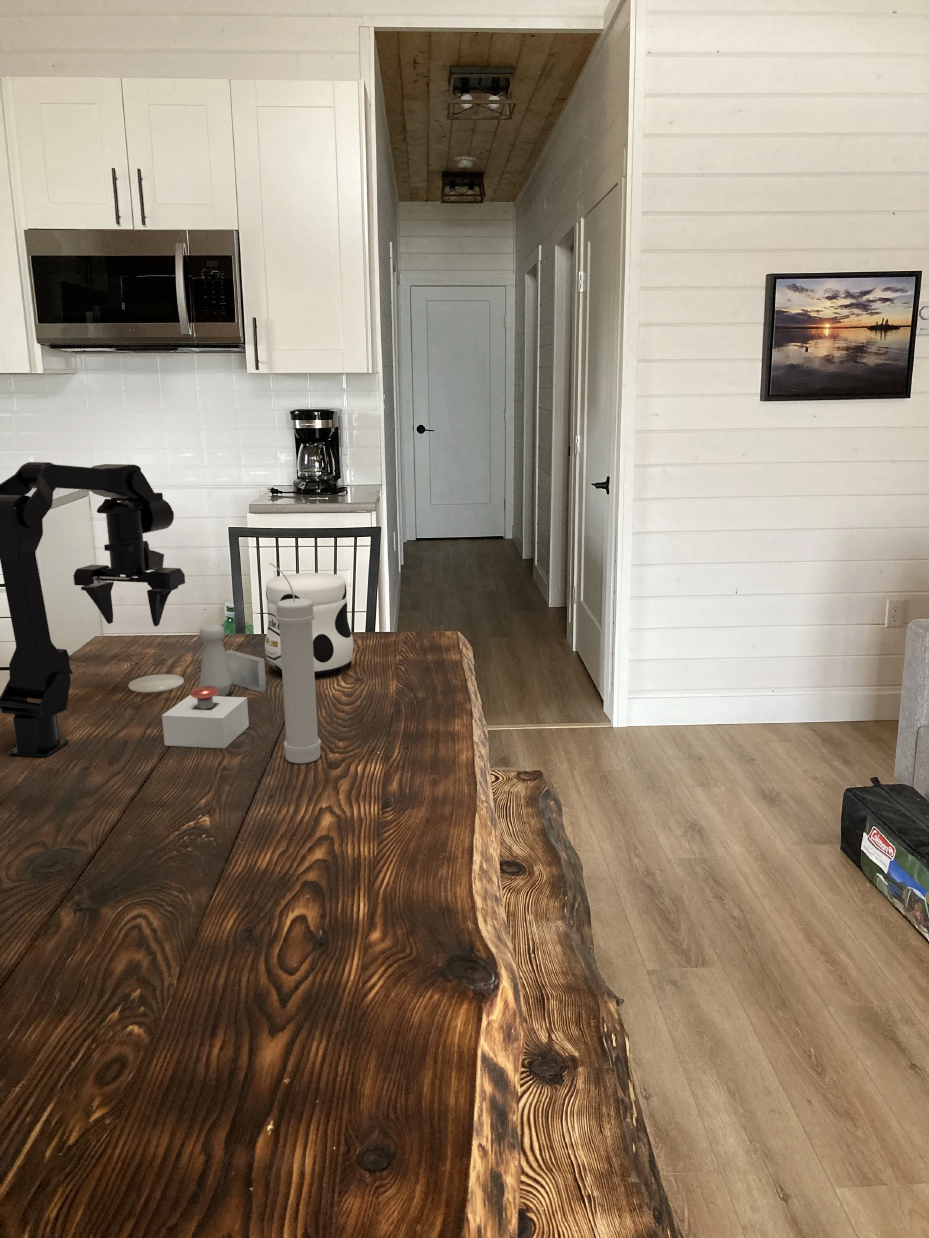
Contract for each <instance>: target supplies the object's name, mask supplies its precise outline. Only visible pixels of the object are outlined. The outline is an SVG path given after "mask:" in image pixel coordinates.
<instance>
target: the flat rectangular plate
mask: <svg viewBox="0 0 929 1238" xmlns="http://www.w3.org/2000/svg"><path fill="white" fill-rule="evenodd" d="M225 654H226V658H227V661H228V665H229V669H230V672H231V676H232V680H233V681H232V685H234V686H235V685H236V686H238V687H242V688H245V689H249V690H253V691H256V692H264V691H266V690H267V683H266V681H267V680H266V667H265V659H264V658H261V657H258V656H254V655H250V654H246V653H243V652H239V651H234V650H231V649H229V650H226V651H225Z"/></svg>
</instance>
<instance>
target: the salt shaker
mask: <svg viewBox="0 0 929 1238" xmlns="http://www.w3.org/2000/svg"><path fill="white" fill-rule="evenodd" d="M224 637H225V628H224V627H223V626H222V625H220V624H207V625H204V626H202V627H201V628H200V629H199V638H200V640H202V641H203V650H202V657H201V658H202V659H201V669H200V677H199V687H200V686H214V687H216V688H217V695H215V696H223V697H227V696H228V695H229V693H230V691H231V688H232V685H233V684H232V681H233V680H232V676H231V672H230V669H229V665H228V661H227V658H226V654H225V647H224V643H223V640H222V639H223V638H224Z"/></svg>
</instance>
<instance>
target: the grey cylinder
mask: <svg viewBox="0 0 929 1238" xmlns="http://www.w3.org/2000/svg"><path fill="white" fill-rule="evenodd" d="M269 565H271V566H273V567H274V568H275V569H277V571H279V572H280V573H281V575H282V576H284V577H285V578H286V576H285V575H286V574H284V572H283V571H282V570H281V569H280V568H279V567H278V566H276V565H275V564H273V563H272V562H269ZM286 580H287V582H288V584H289V586H290V588H291V591H292V595H293V599H287V600H282V601H280V602H278V603H277V604H276V610H277V616H276V620H277V622H279V628H280V645H281V661H282V674H281V675H282V676H281V677H282V690H283V692H282V694H283V708H284V724H285V740H284V742H283V747H284V752H285V753H284V755H285V756H284V757H285V760H287V762H290V763H294V764H308V763H313V762H315V761H317V760H318V759H320V756H321V744H322V740H321V738H319V735H318V734H319V733H318V716H317V715H318V714H317V696H316V695H317V694H316V677H315V673H314V654H313V634H312V620H313V619H314V614H313V603H312V601H311V600H307V599H295V598H294V593H293V590H292V587H291V585H290V583H289V581H288V579H287V578H286Z"/></svg>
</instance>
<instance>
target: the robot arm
mask: <svg viewBox="0 0 929 1238" xmlns="http://www.w3.org/2000/svg"><path fill="white" fill-rule="evenodd" d="M33 489H35V490H34V491H33V493H32V494H31V496H30V495H27V494H29V493H30V492H31V491H32V490H33ZM56 489H65V490H66V489H67V490H86V491H88V492H91V493H92V494H94V495H96V496H101V497H103V498H104V501H103V502H102V503H101V504H100V505H99V506H98V508H97V510H96V512H97V514H105V518H106V529H107V537H108V538H107V540H108V543H106V544H104V546H103V548H104V551H105V552H109V561H110V562H109V563H110V566H109V565H107V564H90V565H86V566H83V567H79V568H76V569H75V571H74V573H73V585H74V586H81V587H80V590H81V591H85V592H86V594H87V595H88V596H89V598H90V599H91V600H92V601H93V603H94V604H95V605H96V607H97V609H98V610H99V612H100V614H101V615H102V616H103V619H104V620H105V622H106V623H107V624H108V625H110V624H113V623H114V610H113V598H112V590H113V587H114V584H115V582H122V583H123V582H125V583H145V584H146V583H147V585H148V587H150V589H148V590H146V593H147V599H148V604H149V605H148V606H149V611H150V617H151V621H152V625H153V626H154V627H158V626H160V623H161V620H162V616H163V614H164V613H163V612H164V609H165V606H166V603H167V600H168V598H169V596H170V594H171V593H172V592H173V591H174V590H177V589H179V586H181V585H184V584H186V578H185V577H186V576H185V573H184V571H183V570H182V568H180V567H163V566H164V560H165V559H164V558H165V554H164V553H162V552H159V551H156V550H153V549H150V544H149V542H148V540H144V535H143V534H146V533H147V534H148V533H153V532H158V531H162V530H167V529H168V528H170V527H171V525H173V522H174V518H175V513H174V510H173V508H172V506H171V505H170V503H169V502H168V501H167V500H165V499H164V496H163V495H164V494H163V492H155V491H154V490H153V488H152V486H151V484H150V482H149V481H148V479H147V477H146V476H145V474H144V473H143V472H142V468H141V467H140V466H139V465H137V464H125V463H124V464H120V463H117V464H116V463H114V464H113V463H110V464H109V463H105V464H104V463H103V464H97V465H93V466H91V467H87V466H77V465H67V464H66V465H64V464H54V463H52V462H50V461H49V462H48V461H47V462H46V461H45V462H44V461H29V462H26V463H23V464H22V465H21V466H20V467H19V468H18V469H17V471H16V472H15V473H14V474H13V475H12V476H10V477H8V478H7V479H5V480H4V481H3V482H1V483H0V568H1V572H2V577H3V578H2V579H3V584H4V589H5V593H6V594H5V595H6V599H7V604H8V610H9V615H10V620H11V625H12V631H13V637H14V641H15V650H14V652H13V654H12V656H11V658H10V661H9V662H8V663H9V665H8V668H9V671H8V672H9V679H8V681H7V683H6V685H5V687H4V689H3V691H2V693H1V695H0V712H1V714H3V715H4V714H7V715H8V714H11V715H14V716H13V717H12V720H13V728H14V729H13V730H14V736H15V742H16V743H15V744H16V746H15V747H13V748H12V749H10V750H8V753H7V754H8V755H9V756H24V757H26V756H27V757H39V758H40V757H41V758H42V757H43V758H45V757H48V756H50V755H51V754H53V753H54V752H56V751H57V750H59V749H60V748H62V747H63V746H65V745H67V744H68V743H69V739H68V738H60V730H59V729H60V728H59V720H58V714H59V713H62V712H64V711H66V710H67V707H68V701H69V693H70V686H71V675H72V674H73V673H74V672H73V670H72V669H71V666H70V656H69V652H68V651H67V649H66V648H64V649H63V648H57V647H56V646H55V645H54V643H53V642H52V639H51V634H50V628H49V622H48V617H47V610H46V604H45V600H44V593H43V589H42V582H41V577H40V571H39V565H38V564H39V563H38V560H37V559H38V558H37V554H36V553H37V552H36V551H37V549H38V547H39V545H40V543H41V540H42V537H43V535H44V527H43V525H44V523H43V521H44V520H43V519H44V518H45V516H46V515H47V514H48V512H49V511H50V509H52V507H53V499H54V492H55V491H56ZM28 699H34V700H40V702H39V701H30V700H28Z"/></svg>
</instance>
